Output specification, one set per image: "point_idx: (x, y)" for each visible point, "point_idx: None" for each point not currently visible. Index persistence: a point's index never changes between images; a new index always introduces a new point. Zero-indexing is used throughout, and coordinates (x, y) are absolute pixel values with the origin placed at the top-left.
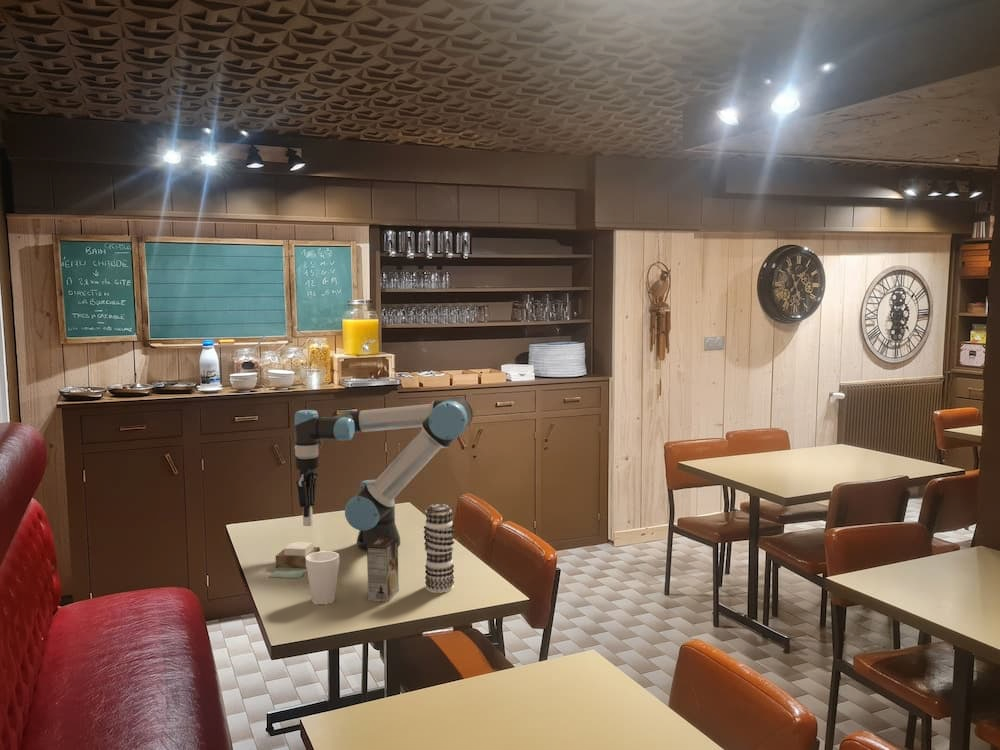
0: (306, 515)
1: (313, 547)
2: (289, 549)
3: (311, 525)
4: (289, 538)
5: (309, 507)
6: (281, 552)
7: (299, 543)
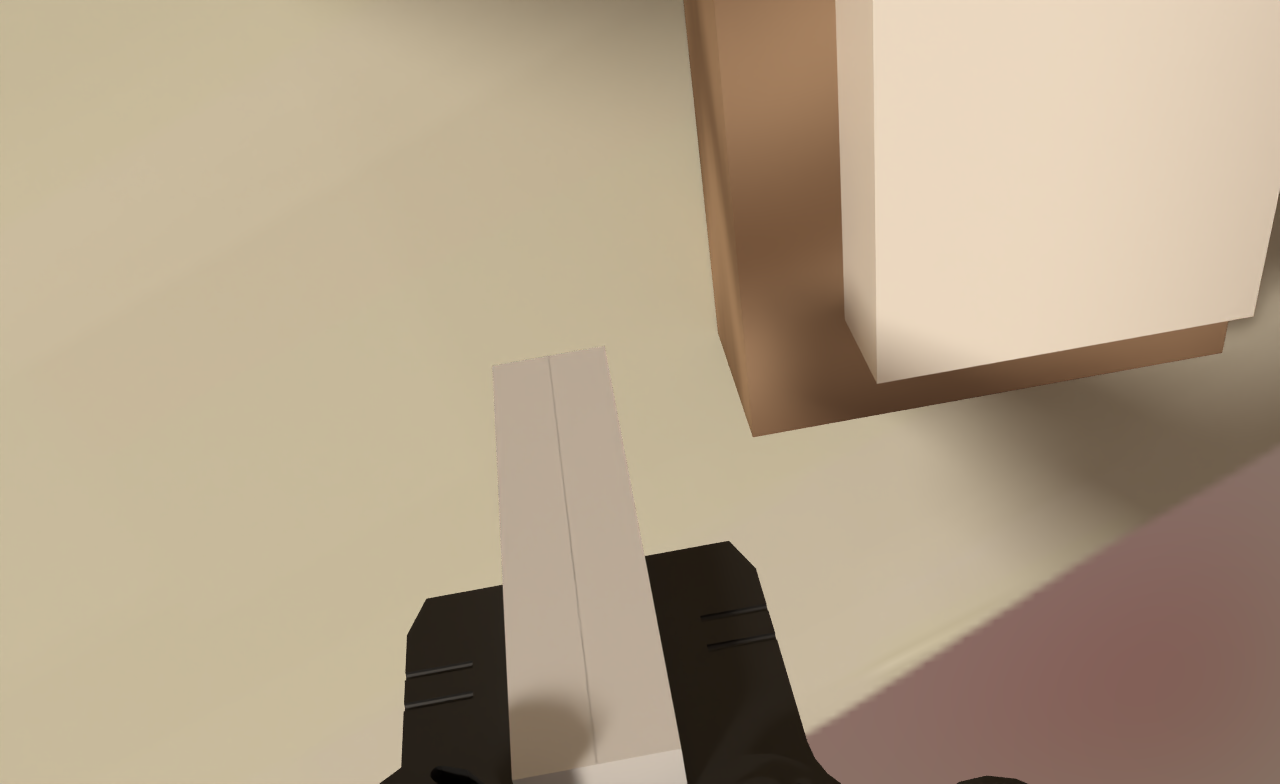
0: (757, 602)
1: (737, 5)
2: (1265, 220)
3: (563, 358)
4: (10, 715)
5: (758, 755)
6: (1065, 360)
7: (962, 226)
